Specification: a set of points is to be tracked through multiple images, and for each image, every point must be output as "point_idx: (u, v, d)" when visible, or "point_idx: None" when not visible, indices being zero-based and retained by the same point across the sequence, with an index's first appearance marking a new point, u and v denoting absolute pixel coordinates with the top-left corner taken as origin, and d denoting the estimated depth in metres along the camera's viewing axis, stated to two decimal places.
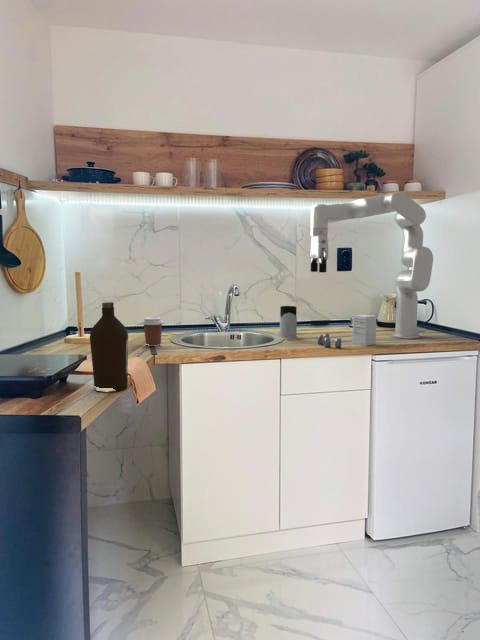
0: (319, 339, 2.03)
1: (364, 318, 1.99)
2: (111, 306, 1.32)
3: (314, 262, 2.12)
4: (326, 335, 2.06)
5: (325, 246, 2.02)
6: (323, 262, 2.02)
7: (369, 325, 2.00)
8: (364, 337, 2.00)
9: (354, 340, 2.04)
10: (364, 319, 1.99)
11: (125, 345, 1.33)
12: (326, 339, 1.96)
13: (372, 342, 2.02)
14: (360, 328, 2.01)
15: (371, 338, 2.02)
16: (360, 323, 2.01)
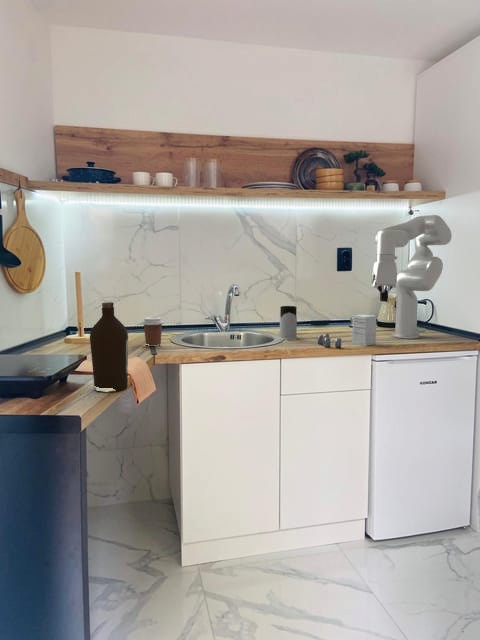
0: (319, 339, 2.03)
1: (364, 318, 1.99)
2: (111, 306, 1.32)
3: None
4: (326, 335, 2.06)
5: None
6: None
7: (369, 325, 2.00)
8: (364, 337, 2.00)
9: (354, 340, 2.04)
10: (364, 319, 1.99)
11: (125, 345, 1.33)
12: (326, 339, 1.96)
13: (372, 342, 2.02)
14: (360, 328, 2.01)
15: (371, 338, 2.02)
16: (360, 323, 2.01)
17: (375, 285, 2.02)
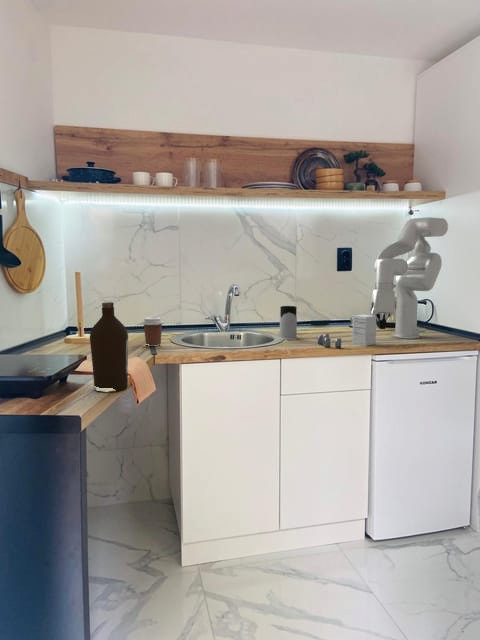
0: (319, 339, 2.03)
1: (364, 318, 1.99)
2: (111, 306, 1.32)
3: None
4: (326, 335, 2.06)
5: None
6: None
7: (369, 325, 2.00)
8: (364, 337, 2.00)
9: (354, 340, 2.04)
10: (364, 319, 1.99)
11: (125, 345, 1.33)
12: (326, 339, 1.96)
13: (372, 342, 2.02)
14: (360, 328, 2.01)
15: (371, 338, 2.02)
16: (360, 323, 2.01)
17: (373, 313, 2.03)
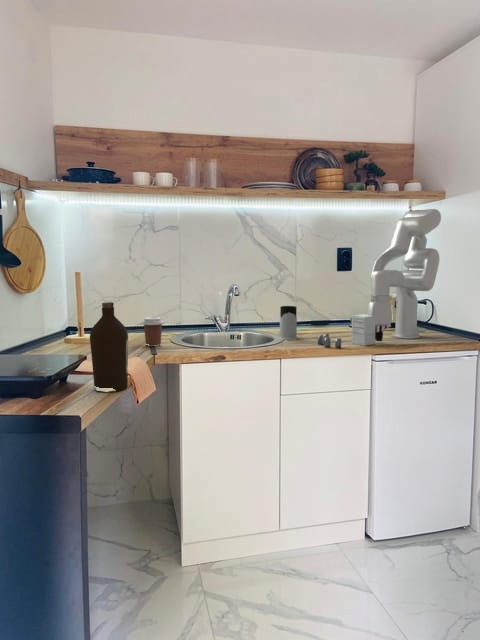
0: (319, 339, 2.03)
1: (363, 318, 1.99)
2: (111, 306, 1.32)
3: (378, 329, 2.05)
4: (326, 335, 2.06)
5: None
6: None
7: (368, 325, 2.00)
8: (363, 337, 2.00)
9: (353, 340, 2.04)
10: (363, 319, 1.99)
11: (125, 345, 1.33)
12: (326, 339, 1.96)
13: (371, 342, 2.02)
14: (359, 328, 2.01)
15: (370, 338, 2.02)
16: (359, 323, 2.00)
17: None
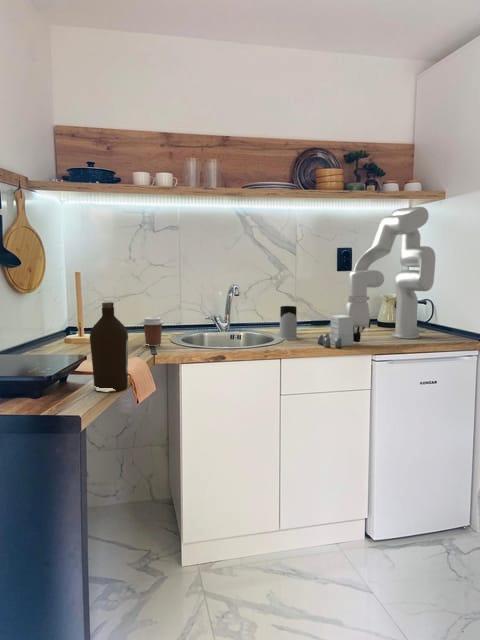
0: (319, 339, 2.03)
1: (337, 318, 1.97)
2: (111, 306, 1.32)
3: None
4: (326, 335, 2.06)
5: None
6: None
7: (344, 326, 1.98)
8: None
9: (331, 340, 2.03)
10: (337, 319, 1.97)
11: (125, 345, 1.33)
12: (326, 339, 1.96)
13: (348, 343, 1.99)
14: (335, 328, 2.00)
15: (347, 339, 1.99)
16: (335, 324, 1.99)
17: None
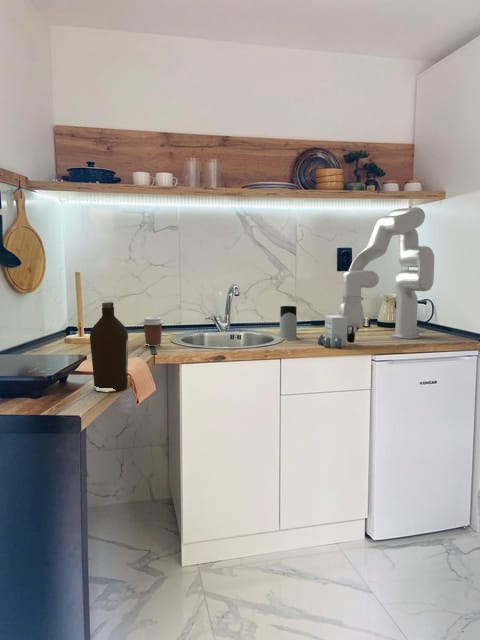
0: (319, 339, 2.03)
1: (331, 319, 1.97)
2: (111, 306, 1.32)
3: None
4: None
5: None
6: None
7: (337, 326, 1.97)
8: (331, 338, 1.98)
9: None
10: (331, 320, 1.97)
11: (125, 345, 1.33)
12: (326, 339, 1.96)
13: (342, 344, 1.99)
14: (329, 328, 1.99)
15: None
16: (329, 324, 1.99)
17: None
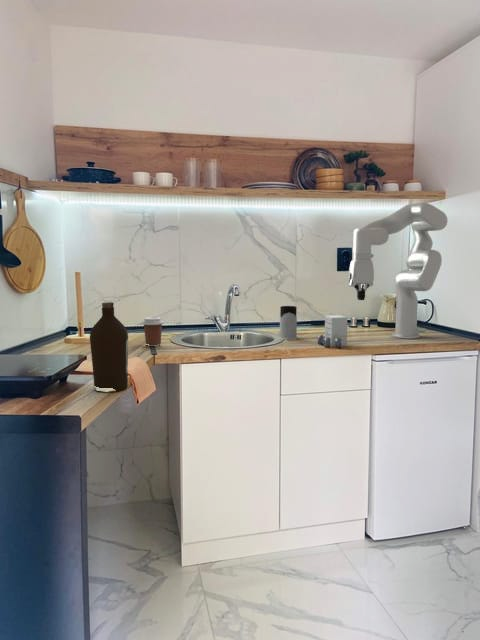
0: (319, 339, 2.03)
1: (331, 319, 1.97)
2: (111, 306, 1.32)
3: (360, 288, 2.02)
4: None
5: None
6: None
7: (337, 326, 1.97)
8: (331, 338, 1.98)
9: None
10: (331, 320, 1.97)
11: (125, 345, 1.33)
12: (326, 339, 1.96)
13: (341, 344, 1.99)
14: (328, 328, 1.99)
15: None
16: (329, 324, 1.99)
17: (352, 284, 2.00)
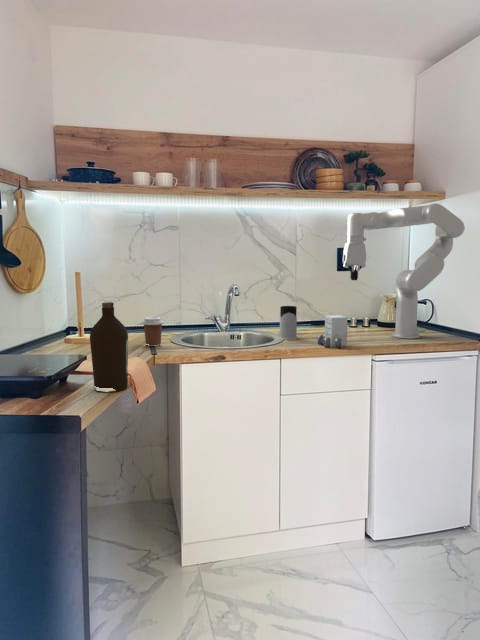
0: (319, 339, 2.03)
1: (331, 319, 1.97)
2: (111, 306, 1.32)
3: (353, 269, 2.17)
4: None
5: None
6: None
7: (337, 326, 1.97)
8: (331, 338, 1.98)
9: None
10: (331, 320, 1.97)
11: (125, 345, 1.33)
12: (326, 339, 1.96)
13: (341, 344, 1.99)
14: (329, 328, 1.99)
15: None
16: (329, 324, 1.99)
17: (345, 265, 2.16)
